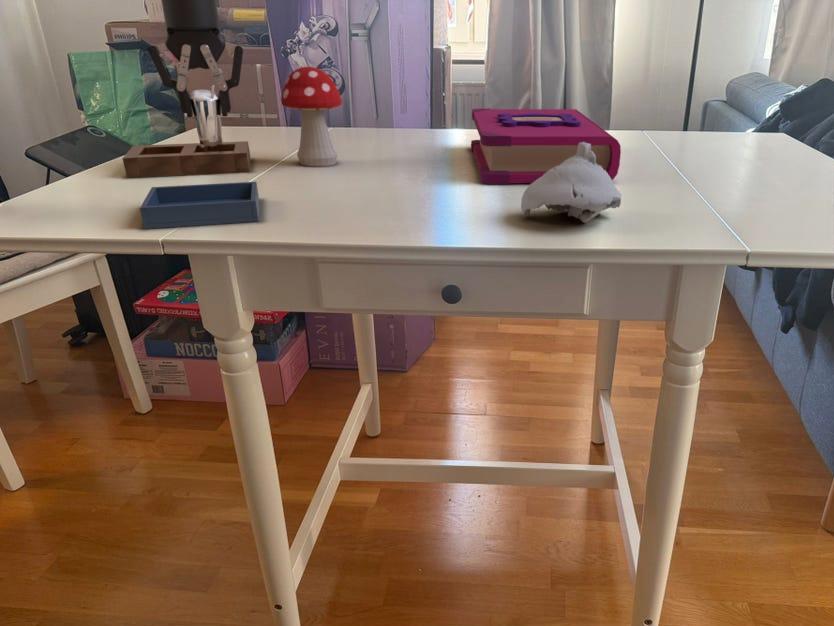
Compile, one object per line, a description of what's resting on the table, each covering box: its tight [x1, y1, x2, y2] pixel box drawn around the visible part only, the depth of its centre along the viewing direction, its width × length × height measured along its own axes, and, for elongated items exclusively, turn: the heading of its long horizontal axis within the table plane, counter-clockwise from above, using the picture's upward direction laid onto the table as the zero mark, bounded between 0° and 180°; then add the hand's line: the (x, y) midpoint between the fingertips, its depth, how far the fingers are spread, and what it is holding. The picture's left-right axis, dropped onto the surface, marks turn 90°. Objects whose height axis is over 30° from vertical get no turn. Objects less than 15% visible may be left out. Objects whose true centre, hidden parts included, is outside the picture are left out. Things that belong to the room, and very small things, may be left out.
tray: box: [139, 181, 260, 230], centre depth 86 cm, size 13×10×3 cm
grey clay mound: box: [520, 142, 622, 224], centre depth 84 cm, size 12×12×11 cm
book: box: [470, 108, 622, 185], centre depth 113 cm, size 21×28×8 cm
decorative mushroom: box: [280, 66, 343, 167], centre depth 110 cm, size 10×9×15 cm
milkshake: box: [189, 85, 224, 152], centre depth 107 cm, size 5×5×10 cm
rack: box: [121, 140, 251, 179], centre depth 109 cm, size 18×10×3 cm, turn 106°
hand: (207, 115), depth 107 cm, fingers closed on milkshake, 4 cm apart
